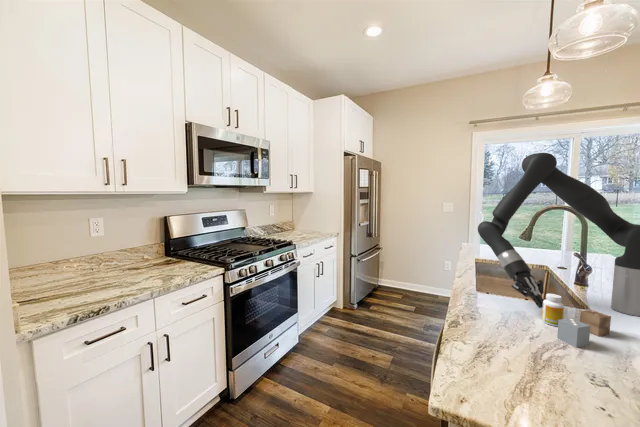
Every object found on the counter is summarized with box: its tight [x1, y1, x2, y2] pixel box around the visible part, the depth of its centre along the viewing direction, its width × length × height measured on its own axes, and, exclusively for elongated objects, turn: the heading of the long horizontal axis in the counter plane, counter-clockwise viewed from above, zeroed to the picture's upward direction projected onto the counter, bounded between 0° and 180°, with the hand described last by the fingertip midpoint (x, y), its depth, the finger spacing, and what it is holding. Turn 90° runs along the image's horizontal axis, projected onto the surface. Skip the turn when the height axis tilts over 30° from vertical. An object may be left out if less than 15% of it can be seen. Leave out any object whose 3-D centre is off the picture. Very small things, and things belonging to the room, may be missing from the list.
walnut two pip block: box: [579, 309, 612, 337], centre depth 86 cm, size 5×5×6 cm
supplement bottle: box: [541, 293, 565, 327], centre depth 92 cm, size 5×5×10 cm
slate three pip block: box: [556, 317, 591, 349], centre depth 80 cm, size 5×5×6 cm
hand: (543, 306), depth 95 cm, fingers closed
